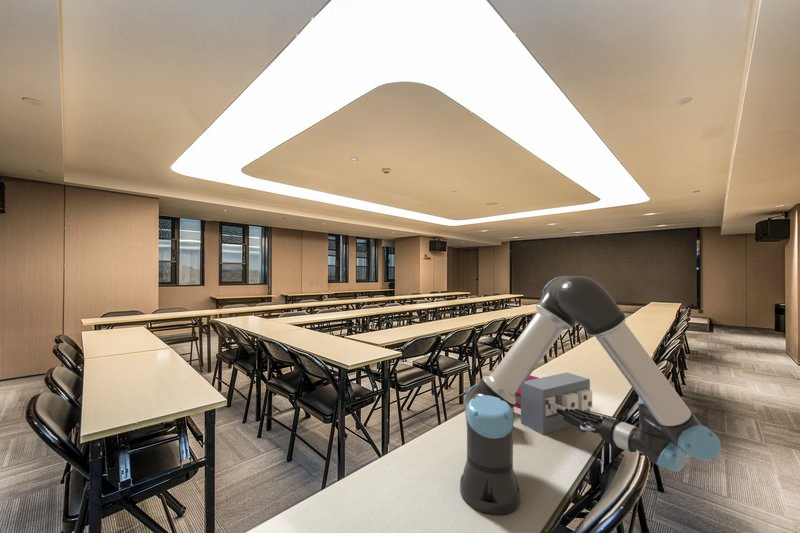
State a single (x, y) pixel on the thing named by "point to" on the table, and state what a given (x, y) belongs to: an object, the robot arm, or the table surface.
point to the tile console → (536, 400)
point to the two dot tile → (584, 399)
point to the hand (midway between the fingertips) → (551, 406)
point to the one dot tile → (570, 400)
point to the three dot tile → (548, 401)
